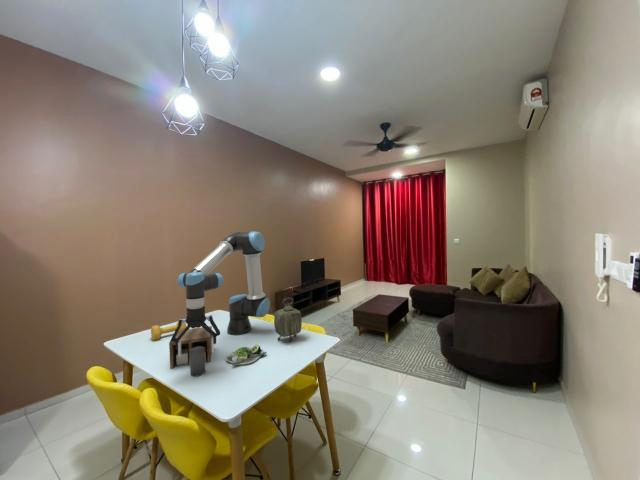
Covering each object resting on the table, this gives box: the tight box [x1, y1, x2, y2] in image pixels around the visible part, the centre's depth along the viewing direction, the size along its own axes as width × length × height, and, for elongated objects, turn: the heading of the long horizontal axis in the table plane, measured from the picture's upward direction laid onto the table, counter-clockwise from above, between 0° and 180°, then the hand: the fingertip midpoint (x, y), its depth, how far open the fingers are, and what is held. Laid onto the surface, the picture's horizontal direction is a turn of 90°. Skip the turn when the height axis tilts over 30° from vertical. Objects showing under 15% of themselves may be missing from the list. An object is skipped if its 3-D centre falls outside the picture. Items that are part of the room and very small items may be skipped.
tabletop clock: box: [273, 297, 303, 342], centre depth 152 cm, size 14×9×25 cm, turn 122°
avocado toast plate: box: [225, 344, 267, 367], centre depth 131 cm, size 19×18×5 cm
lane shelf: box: [168, 325, 213, 369], centre depth 133 cm, size 18×16×12 cm
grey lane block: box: [175, 348, 189, 366], centre depth 129 cm, size 5×6×5 cm
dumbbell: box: [150, 320, 187, 341], centre depth 163 cm, size 19×9×8 cm, turn 131°
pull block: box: [189, 346, 208, 378], centre depth 124 cm, size 6×19×11 cm, turn 20°
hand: (196, 353), depth 118 cm, fingers open, 13 cm apart
